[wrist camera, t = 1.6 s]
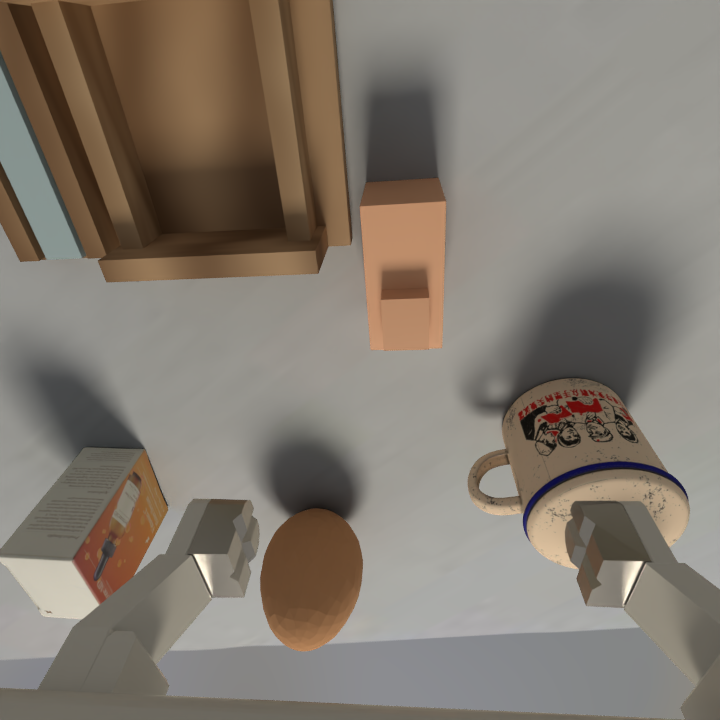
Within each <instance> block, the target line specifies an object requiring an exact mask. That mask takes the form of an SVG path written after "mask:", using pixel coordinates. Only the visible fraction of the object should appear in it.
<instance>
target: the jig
mask: <svg viewBox="0 0 720 720" xmlns="http://www.w3.org/2000/svg"><path fill="white" fill-rule="evenodd" d="M0 51H1V53H2V56H3V58H4V60H5V63H6V65H7V68H8V70H9V72H10V75H11V77H12V79H13V82H14V84H15V87H16V89H17V91H18V94H19V96H20V98H21V101H22V103H23V106H24V108H25V110H26V113H27V115H28V118H29V120H30V122H31V125H32V127H33V129H34V132H35V134H36V137H37V139H38V141H39V144H40V146H41V148H42V151H43V153H44V156H45V158H46V160H47V163H48V165H49V167H50V170H51V172H52V175H53V177H54V179H55V182H56V184H57V186H58V189H59V191H60V194H61V196H62V198H63V201H64V203H65V206H66V208H67V210H68V213H69V215H70V217H71V220H72V222H73V225H74V227H75V229H76V232H77V234H78V236H79V239H80V241H81V244H82V246H83V248H84V251H85V253H86V256H85V257H83V258H101V259H100V260H98V263H99V265H100V268H101V270H102V272H103V275H104V277H105V280H106V282H126V281H150V280H175V279H199V278H223V277H248V276H272V275H297V274H318V273H319V270H320V268H321V265H322V262H323V260H324V257H325V254H326V251H327V249H328V246H345V245H351V242H352V228H351V216H350V204H349V192H348V180H347V168H346V156H345V144H344V132H343V119H342V107H341V95H340V83H339V71H338V59H337V47H336V35H335V23H334V11H333V0H0ZM0 223H1V225H2V227H3V229H4V231H5V233H6V235H7V237H8V239H9V240H10V242H11V244H12V246H13V248H14V250H15V252H16V254H17V256H18V258H19V260H20V262H24V261H40V260H46V257H45V255H44V253H43V251H42V249H41V246H40V244H39V242H38V240H37V238H36V236H35V234H34V232H33V230H32V227H31V225H30V223H29V221H28V219H27V217H26V215H25V213H24V211H23V208H22V206H21V204H20V202H19V200H18V198H17V196H16V194H15V191H14V189H13V187H12V185H11V183H10V181H9V179H8V177H7V175H6V172H5V170H4V168H3V166H2V164H1V162H0Z"/></svg>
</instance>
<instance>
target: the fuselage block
mask: <svg viewBox="0 0 720 720" xmlns="http://www.w3.org/2000/svg"><path fill="white" fill-rule="evenodd" d="M360 215H361V228H362V242H363V255H364V268H365V282H366V295H367V308H368V322H369V335H370V348H371V350H384V351H389V350H426V349H429V348H442V333H443V297H444V261H445V224H446V199H445V196H444V193H443V190H442V187H441V184H440V181H439V178H427V179H411V180H396V181H380V182H366V184H365V188H364V192H363V196H362V200H361V204H360Z"/></svg>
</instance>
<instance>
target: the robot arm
mask: <svg viewBox="0 0 720 720" xmlns="http://www.w3.org/2000/svg"><path fill="white" fill-rule="evenodd" d="M253 510H254V508H253V505H252V502H251V500H226V499H193V500H192V501H191V502H190V503H189V504H188V506H187V509H186V511H185V513H184V515H183V517H182V519H181V521H180V524H179V526H178V528H177V530H176V532H175V534H174V536H173V539H172V541H171V543H170V545H169V547H168V549H167V551H166V554H160V555H158V556H157V557H156V558H155V559H154V560H152V561H151V562H150V563H149V564H148V565H147V566H145V567H144V568H143V569H142V570H141V571H139V572H138V573H137V574H136V575H135V576H133V577H132V578H131V579H130V580H129V581H127V582H126V583H125V584H124V585H123V586H121V587H120V588H119V589H118V590H117V591H115V592H114V593H113V594H112V595H111V596H110V597H108V598H107V599H106V600H105V601H104V602H102V603H101V604H100V605H99V606H98V607H96V608H95V609H94V610H93V611H92V612H90V613H89V614H88V615H87V616H86V617H84V618H83V619H82V620H81V621H80V622H79V623H77V624H76V625H75V626H74V627H73V628H72V630H71V631H70V633H69V635H68V637H67V639H66V640H65V642H64V644H63V646H62V647H61V649H60V651H59V653H58V654H57V656H56V658H55V660H54V661H53V663H52V665H51V667H50V668H49V670H48V672H47V674H46V675H45V677H44V679H43V681H42V682H41V684H40V686H39V688H38V689H37V690H35V689H13V688H0V720H681V719H661V718H639V717H617V716H596V715H575V714H554V713H552V714H551V713H532V712H531V713H530V712H511V711H510V712H509V711H488V710H467V709H446V708H425V707H403V706H402V707H401V706H382V705H361V704H339V703H318V702H317V703H316V702H296V701H273V700H252V699H229V698H209V697H187V696H166V693H167V690H168V687H169V685H168V682H167V680H166V678H165V677H164V675H163V674H162V672H161V671H160V669H159V668H158V666H157V665H156V664H157V663H158V662H159V661H160V659H161V658H162V657H163V656H164V655H165V654H166V653H167V651H168V650H169V649H170V648H171V647H172V646H173V644H174V643H175V642H176V641H177V640H178V639H179V637H180V636H181V635H182V634H183V633H184V631H185V630H186V629H187V628H188V627H189V626H190V624H191V623H192V622H193V621H194V620H195V619H196V617H197V616H198V615H199V614H200V613H201V612H202V610H203V609H204V608H205V607H206V606H207V605H208V603H209V602H210V601H211V600H212V599H211V598H215V597H244V596H245V592H246V589H247V585H248V582H249V578H250V575H251V570H250V567H249V564H248V563H249V562H250V561H251V560H252V559H253V558H254V557H255V556H256V553H257V549H258V545H259V535H260V533H259V524H258V521H257V519H256V518H254V517H253V516H252V513H253ZM570 512H571V514H572V517H573V518H572V519H571V520H570V521H568V522H567V524H566V528H565V544H566V549H567V553H568V556H569V559H570V561H571V562H572V563H573V564H574V565H575V566H576V567H577V568H578V569H579V573H578V576H577V582H578V584H579V587H580V590H581V593H582V596H583V598H584V601H585V604H586V606H596V607H615V608H624V610H625V612H626V613H627V614H628V615H629V616H630V617H631V618H632V619H633V620H634V621H635V622H636V623H637V624H638V625H639V626H640V628H641V629H642V630H643V631H644V632H645V633H646V634H647V635H648V636H649V637H650V638H651V639H652V640H653V641H654V642H655V644H656V645H657V646H658V647H659V648H660V649H661V650H662V651H663V652H664V653H665V654H666V655H667V656H668V657H669V658H670V660H671V661H672V662H673V663H674V664H675V665H676V666H677V667H678V668H679V669H680V670H681V671H682V672H683V673H684V674H685V676H686V677H688V679H689V680H690V681H691V682H692V683H693V684H694V685H695V688H694V689H693V690H692V692H691V693H690V695H689V696H688V697H687V698H686V700H685V701H684V703H683V704H682V706H681V711H682V713H683V715H684V718H685V720H720V589H718V588H717V587H716V586H714V585H713V584H712V583H710V582H709V581H708V580H706V579H705V578H704V577H703V576H701V575H700V574H699V573H697V572H696V571H695V570H693V569H692V568H691V567H689V566H688V565H687V564H685V563H678V562H677V560H676V558H675V557H674V555H673V553H672V551H671V550H670V548H669V546H668V544H667V543H666V541H665V539H664V537H663V536H662V534H661V532H660V530H659V529H658V527H657V525H656V523H655V522H654V520H653V518H652V516H651V515H650V513H649V511H648V509H647V508H646V506H645V505H644V504H643V503H642V502H641V501H575V502H574V503H573V504H572V506H571V510H570Z"/></svg>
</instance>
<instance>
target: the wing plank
mask: <svg viewBox="0 0 720 720" xmlns="http://www.w3.org/2000/svg"><path fill="white" fill-rule="evenodd" d="M0 162H1V164H2V166H3V168H4V170H5V172H6V175H7V177H8V179H9V181H10V183H11V185H12V187H13V189H14V191H15V194H16V196H17V198H18V200H19V202H20V204H21V206H22V208H23V211H24V213H25V215H26V217H27V219H28V221H29V223H30V225H31V227H32V230H33V232H34V234H35V236H36V238H37V240H38V242H39V244H40V246H41V249H42V251H43V253H44V255H45V257H46V259H47V260H54V259H76V258H83V257H85V256H86V253H85V251H84V248H83V246H82V244H81V241H80V239H79V236H78V234H77V232H76V229H75V227H74V225H73V222H72V220H71V217H70V215H69V213H68V210H67V208H66V206H65V203H64V201H63V198H62V196H61V194H60V191H59V189H58V186H57V184H56V182H55V179H54V177H53V175H52V172H51V170H50V167H49V165H48V163H47V160H46V158H45V156H44V153H43V151H42V148H41V146H40V144H39V141H38V139H37V137H36V134H35V132H34V129H33V127H32V125H31V122H30V120H29V118H28V115H27V113H26V110H25V108H24V106H23V103H22V101H21V98H20V96H19V94H18V91H17V89H16V87H15V84H14V82H13V79H12V77H11V75H10V72H9V70H8V68H7V65H6V63H5V60H4V58H3V56H2V53H1V51H0Z"/></svg>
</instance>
